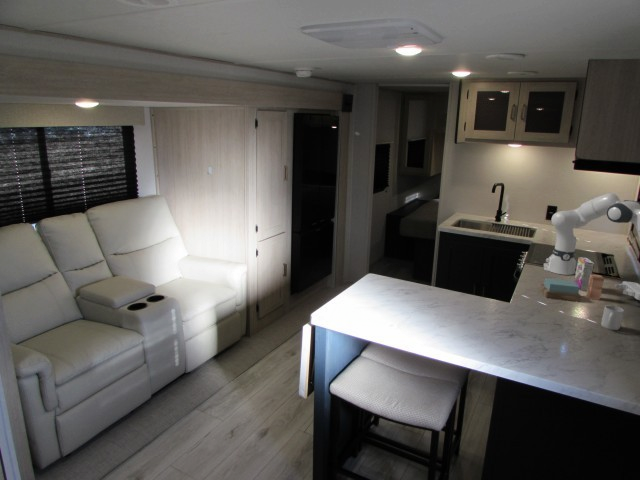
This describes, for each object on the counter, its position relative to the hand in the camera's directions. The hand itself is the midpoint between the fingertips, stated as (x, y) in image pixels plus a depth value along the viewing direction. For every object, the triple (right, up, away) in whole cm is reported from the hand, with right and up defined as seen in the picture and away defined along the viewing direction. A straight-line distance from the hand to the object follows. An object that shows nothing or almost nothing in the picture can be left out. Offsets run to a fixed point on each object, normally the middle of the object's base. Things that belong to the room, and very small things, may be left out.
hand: (619, 288), depth 239 cm
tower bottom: (-29, -5, +5) cm, 30 cm away
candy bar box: (-9, -2, +19) cm, 21 cm away
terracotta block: (-12, -5, +4) cm, 13 cm away
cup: (-27, -14, -34) cm, 45 cm away
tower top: (-29, -1, +4) cm, 29 cm away
